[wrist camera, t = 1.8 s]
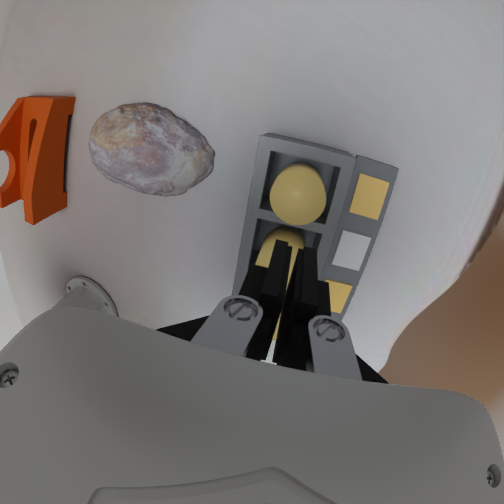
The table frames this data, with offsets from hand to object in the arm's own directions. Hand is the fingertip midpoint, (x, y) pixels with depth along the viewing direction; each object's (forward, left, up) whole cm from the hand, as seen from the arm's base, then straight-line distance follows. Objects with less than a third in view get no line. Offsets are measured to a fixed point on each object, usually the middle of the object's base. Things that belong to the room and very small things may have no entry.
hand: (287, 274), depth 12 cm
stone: (0, +19, -22) cm, 28 cm away
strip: (-7, -8, -21) cm, 24 cm away
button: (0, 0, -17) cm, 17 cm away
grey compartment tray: (-7, 0, -21) cm, 22 cm away
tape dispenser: (-1, +41, -22) cm, 46 cm away
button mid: (-7, 0, -17) cm, 18 cm away
